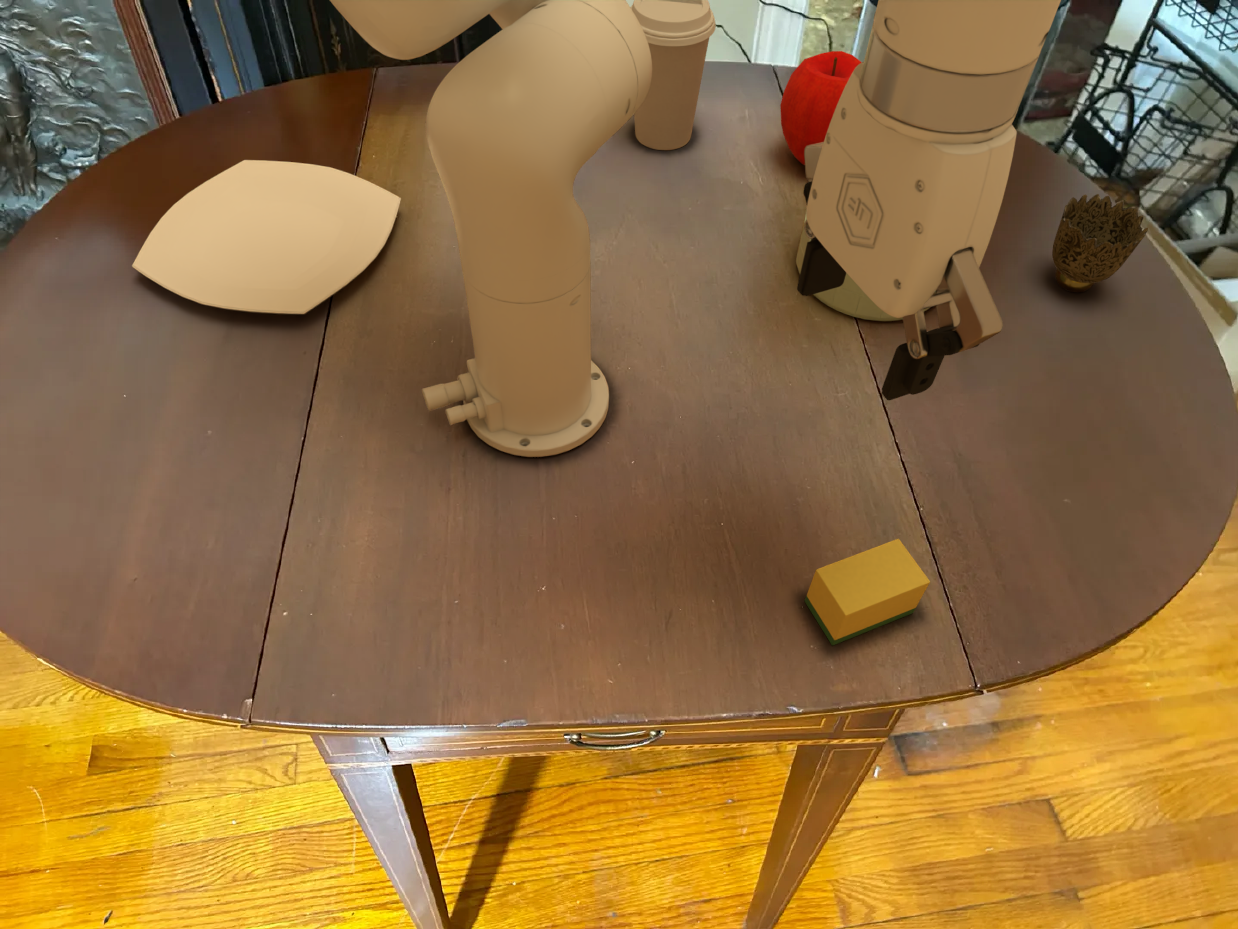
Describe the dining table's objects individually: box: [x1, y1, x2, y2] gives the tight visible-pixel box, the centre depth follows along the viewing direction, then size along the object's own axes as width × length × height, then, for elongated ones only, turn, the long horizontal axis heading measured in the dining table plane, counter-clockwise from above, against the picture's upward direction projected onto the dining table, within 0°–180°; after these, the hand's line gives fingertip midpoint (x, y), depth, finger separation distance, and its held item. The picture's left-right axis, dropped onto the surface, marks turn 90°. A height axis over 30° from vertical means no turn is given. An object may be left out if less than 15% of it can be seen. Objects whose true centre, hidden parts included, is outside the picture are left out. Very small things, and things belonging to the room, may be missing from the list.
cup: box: [1051, 193, 1149, 293], centre depth 88 cm, size 8×7×8 cm
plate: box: [131, 159, 402, 316], centre depth 91 cm, size 23×23×2 cm
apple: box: [779, 50, 863, 166], centre depth 98 cm, size 10×10×12 cm
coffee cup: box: [630, 0, 717, 151], centre depth 100 cm, size 10×10×15 cm
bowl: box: [795, 208, 930, 322], centre depth 89 cm, size 15×15×6 cm
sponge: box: [804, 538, 931, 646], centre depth 66 cm, size 7×4×4 cm, turn 113°
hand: (860, 337), depth 56 cm, fingers open, 9 cm apart
